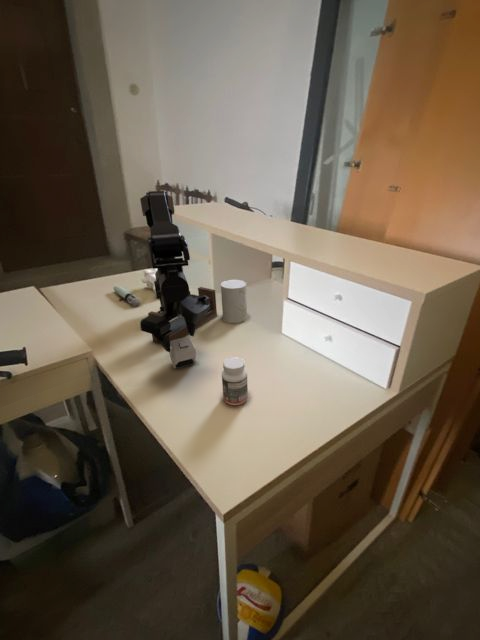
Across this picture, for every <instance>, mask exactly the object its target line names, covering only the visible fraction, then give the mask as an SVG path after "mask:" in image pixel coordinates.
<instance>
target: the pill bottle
mask: <svg viewBox="0 0 480 640" xmlns="http://www.w3.org/2000/svg"><path fill="white" fill-rule="evenodd" d="M245 365H246V364H245V360H244V359H243V358H241V357H236V356H231V357H227V358H226V359H224V361H223V362H222V369H223V370H222V371H221V381H222V382H221V385H222V397H223V401H224V402H225V403H227V404H228V405H231V406H238V405H242V404H244V403H245V402H246V401H247V400H248V397H249V393H248V392H249V390H248V372H247V369H246V368H245V367H246V366H245Z"/></svg>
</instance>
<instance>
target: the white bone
mask: <svg viewBox="0 0 480 640" xmlns="http://www.w3.org/2000/svg"><path fill="white" fill-rule="evenodd" d="M156 272H157V269H153V267H152V268H151V269H144V270H143V276H142V278H141V282H142V283H143V284H146V287H147V288H148V289H149V290H150V289H151V290H153V292H155V293H156V290H155V284H154V281H156V276H155V274H156Z"/></svg>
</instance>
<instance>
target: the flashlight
mask: <svg viewBox="0 0 480 640" xmlns="http://www.w3.org/2000/svg"><path fill="white" fill-rule="evenodd" d="M113 291H114V292H115V293H116V294H117V295H118V296H119V297H120V298H119V299H118V300H119V301H122V300H124V301H125V302H127V303H128V304H130V305H131V306H132V307H134V308H135V307H136V308H137V307H139V306H140V305H141V301H140V299H139V298H138V297H136V296H135V295H134V294H132V293H131V292H130V291H128V290H126V289H125V288H123V287H121V286H119V285H114V286H113Z"/></svg>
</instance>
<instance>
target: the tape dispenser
mask: <svg viewBox="0 0 480 640" xmlns="http://www.w3.org/2000/svg"><path fill="white" fill-rule="evenodd" d="M170 345H171V346H170V352H168V353H169V357H170V360H171V364H172V367H173V369H178V368H183V367H187V366H191V365H194V364H195V363H196V359H197V352H196V348H195V346H194V344H193V341H192V340H191V338H190V336H185V337H183V338H180V339H175V340H172V341H171V342H170Z"/></svg>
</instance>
